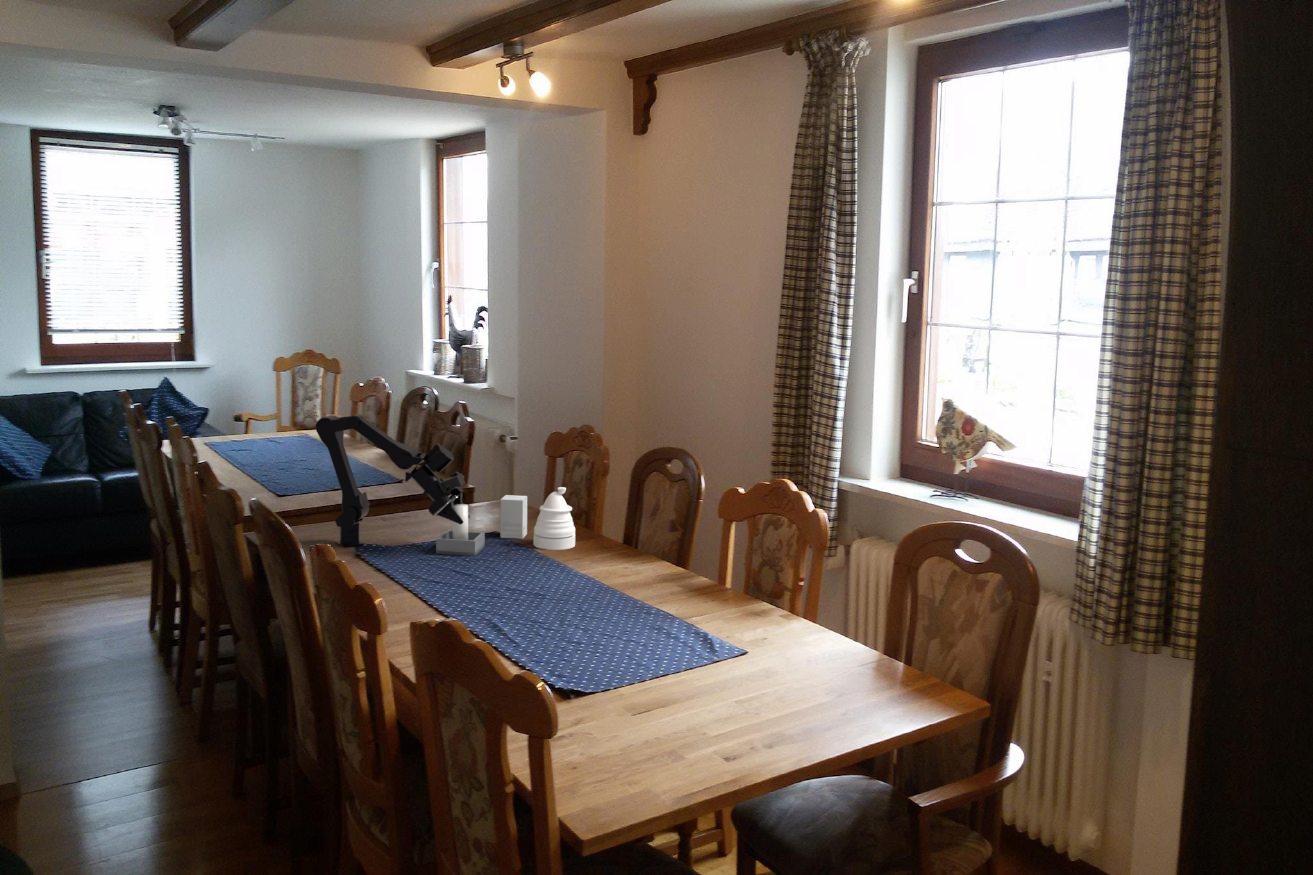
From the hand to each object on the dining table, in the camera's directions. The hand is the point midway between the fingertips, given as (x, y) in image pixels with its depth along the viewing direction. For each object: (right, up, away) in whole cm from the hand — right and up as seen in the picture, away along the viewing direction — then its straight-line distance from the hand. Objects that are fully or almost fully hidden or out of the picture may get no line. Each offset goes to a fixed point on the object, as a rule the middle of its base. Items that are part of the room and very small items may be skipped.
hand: (465, 520), depth 313 cm
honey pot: (+25, -9, +13) cm, 29 cm away
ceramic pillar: (-2, -8, +1) cm, 8 cm away
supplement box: (+11, -7, +22) cm, 25 cm away
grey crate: (-2, -9, +1) cm, 9 cm away
